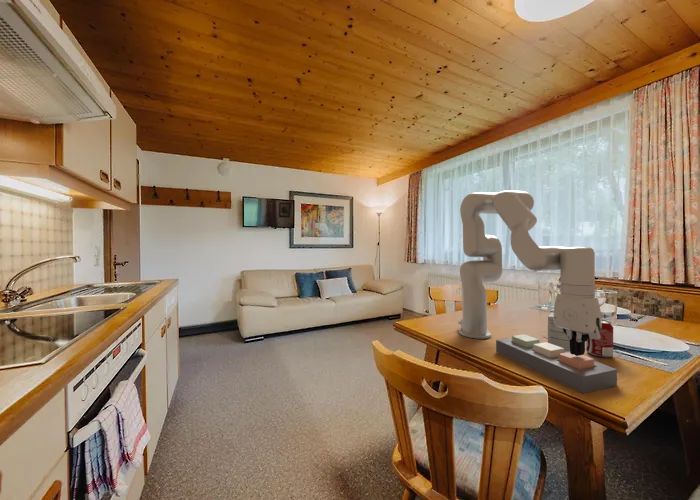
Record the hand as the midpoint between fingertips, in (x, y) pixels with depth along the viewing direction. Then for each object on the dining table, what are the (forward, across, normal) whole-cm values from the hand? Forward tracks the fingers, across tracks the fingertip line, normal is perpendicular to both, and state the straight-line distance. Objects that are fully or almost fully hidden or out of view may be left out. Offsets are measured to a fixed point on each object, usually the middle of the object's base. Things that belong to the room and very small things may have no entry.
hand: (577, 354), depth 77 cm
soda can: (+7, -9, +25) cm, 28 cm away
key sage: (+4, -16, 0) cm, 17 cm away
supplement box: (+7, -16, +17) cm, 25 cm away
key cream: (+4, -8, 0) cm, 9 cm away
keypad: (+7, -8, 0) cm, 11 cm away
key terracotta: (+4, 0, 0) cm, 4 cm away
